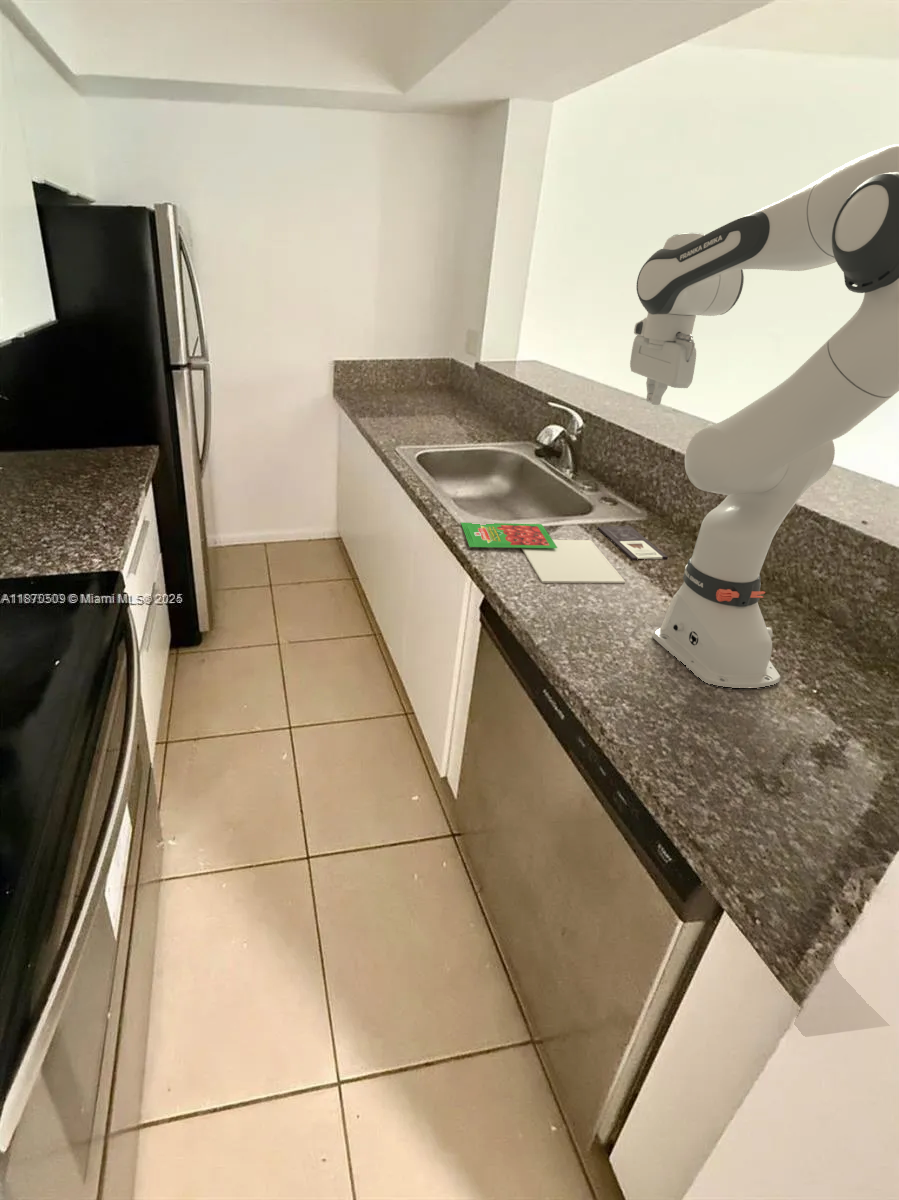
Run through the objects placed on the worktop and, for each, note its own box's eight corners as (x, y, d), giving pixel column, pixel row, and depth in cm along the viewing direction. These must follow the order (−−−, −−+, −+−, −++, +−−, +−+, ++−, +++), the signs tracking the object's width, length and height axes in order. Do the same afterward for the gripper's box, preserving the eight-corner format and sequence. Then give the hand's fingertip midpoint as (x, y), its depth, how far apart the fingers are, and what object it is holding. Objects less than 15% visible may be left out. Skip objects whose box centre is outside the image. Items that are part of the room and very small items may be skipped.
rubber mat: (624, 583, 135) (625, 581, 135) (541, 582, 132) (542, 581, 132) (590, 541, 153) (590, 540, 153) (516, 540, 150) (517, 539, 150)
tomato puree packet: (557, 545, 145) (469, 544, 143) (557, 550, 146) (469, 549, 143) (541, 522, 159) (460, 520, 156) (541, 526, 159) (460, 524, 157)
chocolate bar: (630, 526, 163) (667, 556, 148) (629, 529, 164) (666, 560, 148) (597, 526, 161) (632, 557, 146) (597, 530, 161) (631, 561, 146)
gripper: (711, 337, 117) (692, 415, 123) (659, 325, 134) (645, 394, 141) (679, 334, 115) (662, 414, 122) (631, 323, 133) (618, 393, 140)
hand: (652, 403), depth 131 cm, fingers closed
